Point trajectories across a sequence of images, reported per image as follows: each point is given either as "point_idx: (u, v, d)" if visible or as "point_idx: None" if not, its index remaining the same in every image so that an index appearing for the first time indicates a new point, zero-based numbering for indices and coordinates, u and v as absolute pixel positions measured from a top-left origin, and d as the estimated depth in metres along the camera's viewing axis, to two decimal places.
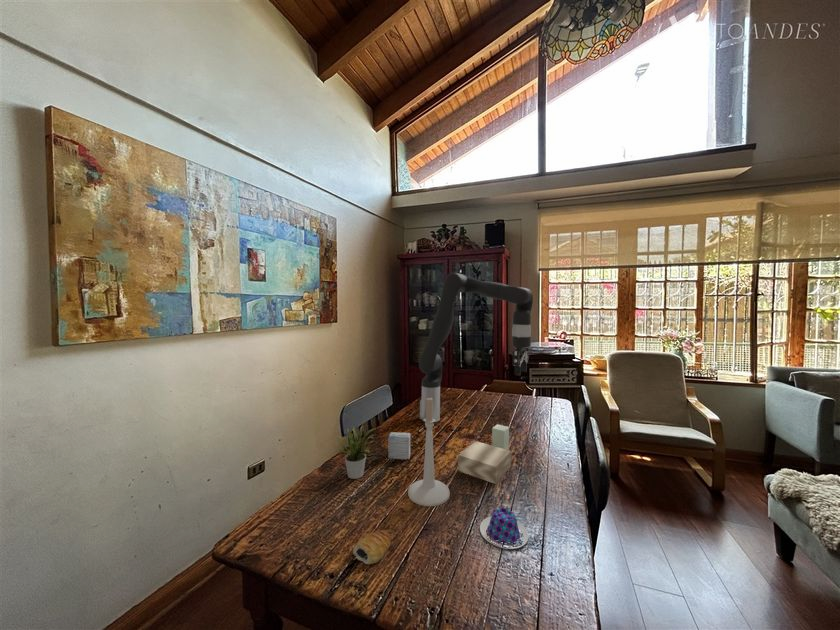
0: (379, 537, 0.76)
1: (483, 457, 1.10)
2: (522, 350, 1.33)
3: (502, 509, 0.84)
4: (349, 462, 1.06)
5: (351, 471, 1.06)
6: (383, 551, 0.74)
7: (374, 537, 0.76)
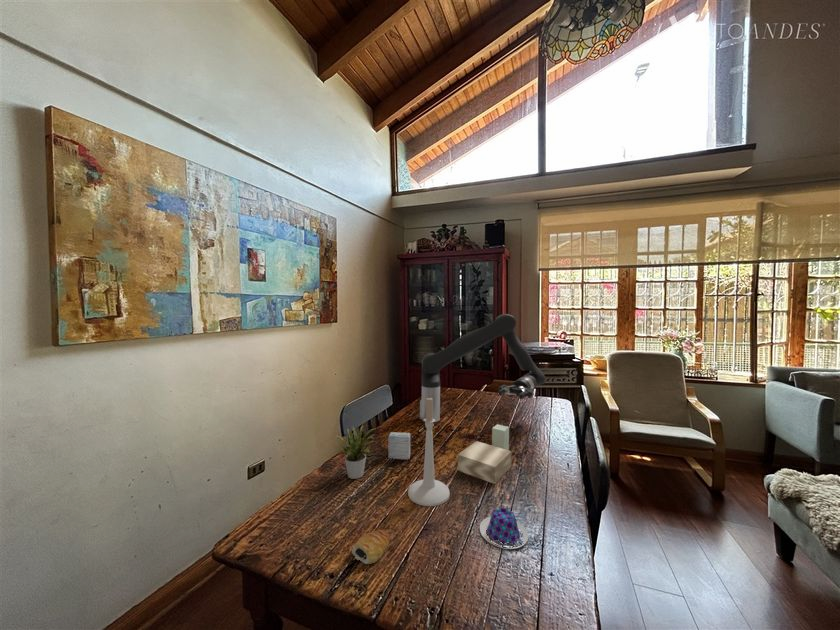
0: (378, 537, 0.76)
1: (482, 457, 1.10)
2: None
3: (502, 509, 0.84)
4: (349, 462, 1.06)
5: (351, 471, 1.06)
6: (382, 551, 0.74)
7: (373, 537, 0.76)
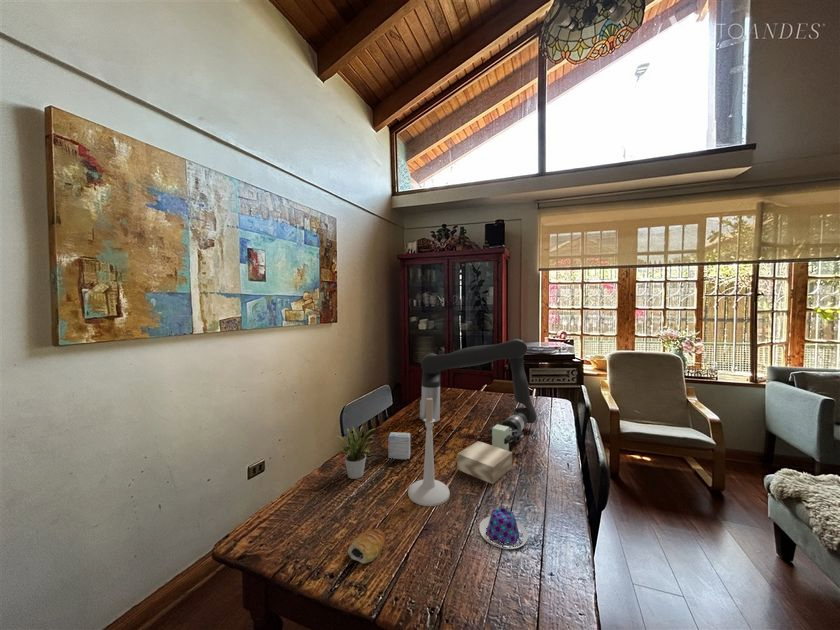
0: (373, 536, 0.76)
1: (481, 457, 1.10)
2: None
3: (502, 509, 0.84)
4: (349, 462, 1.06)
5: (351, 471, 1.06)
6: (378, 549, 0.74)
7: (368, 536, 0.76)
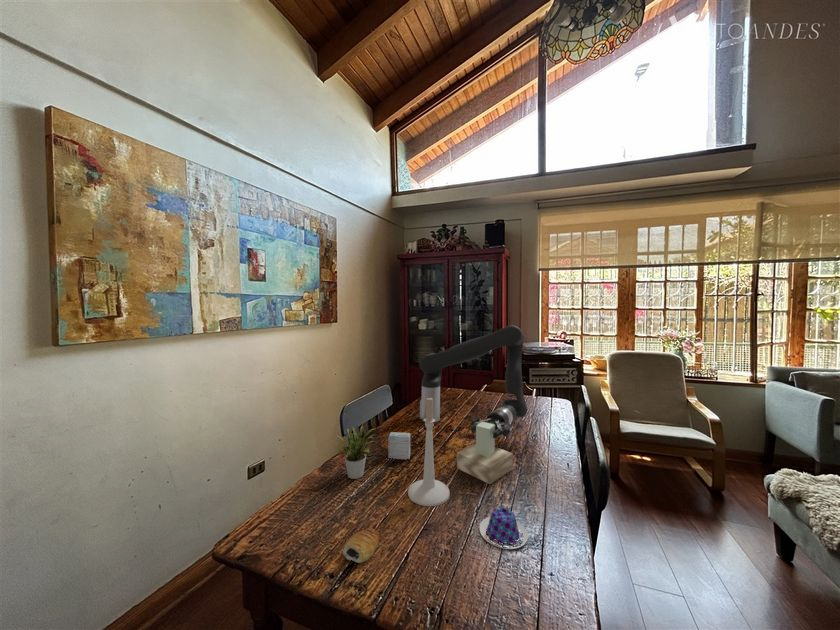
0: (368, 535, 0.77)
1: (480, 457, 1.10)
2: None
3: (503, 509, 0.84)
4: (349, 462, 1.06)
5: (351, 471, 1.06)
6: (373, 548, 0.75)
7: (363, 535, 0.76)
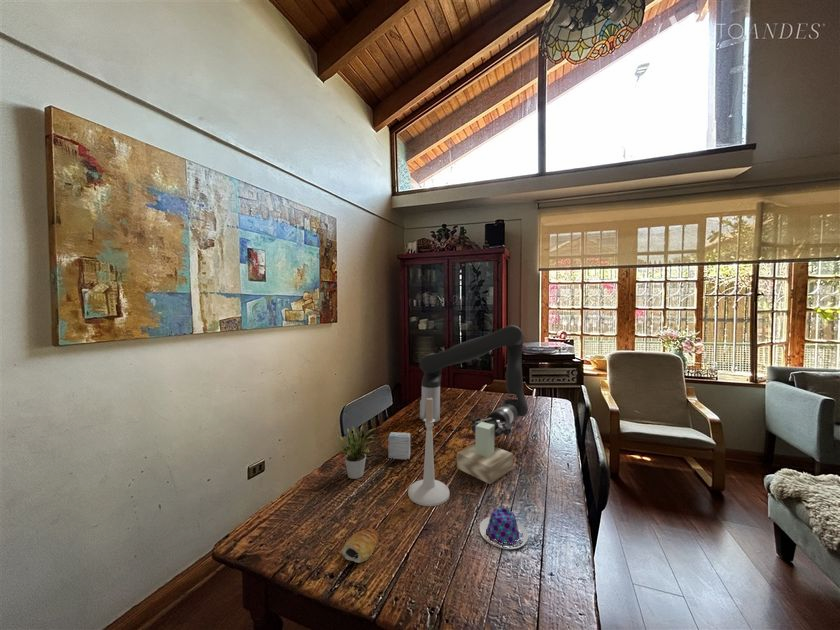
0: (367, 535, 0.77)
1: (480, 457, 1.10)
2: None
3: (503, 509, 0.84)
4: (349, 462, 1.06)
5: (351, 471, 1.06)
6: (373, 548, 0.75)
7: (362, 535, 0.76)
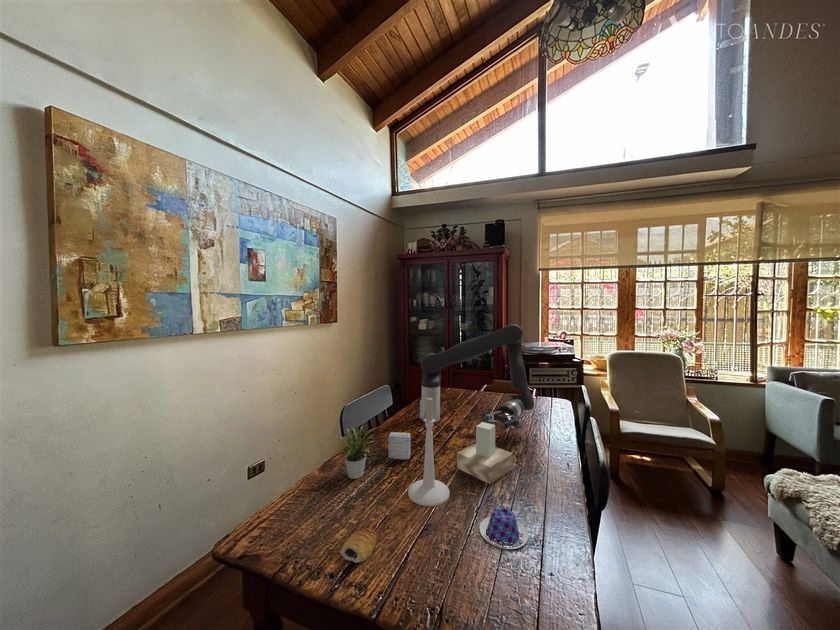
0: (366, 535, 0.77)
1: (480, 457, 1.10)
2: None
3: (503, 509, 0.84)
4: (349, 462, 1.06)
5: (351, 471, 1.06)
6: (371, 548, 0.75)
7: (361, 535, 0.76)
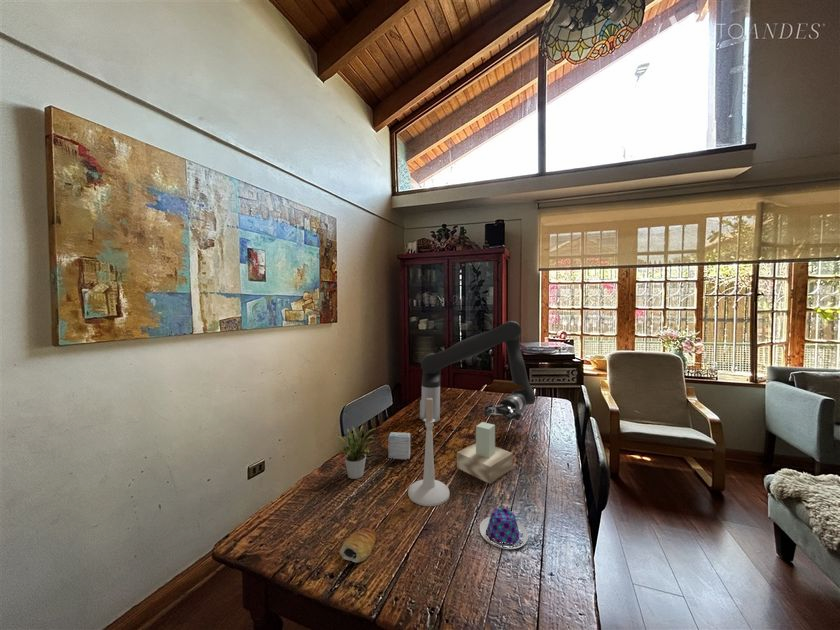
0: (365, 535, 0.77)
1: (480, 457, 1.10)
2: None
3: (504, 509, 0.84)
4: (349, 462, 1.06)
5: (351, 471, 1.06)
6: (371, 547, 0.75)
7: (360, 535, 0.76)
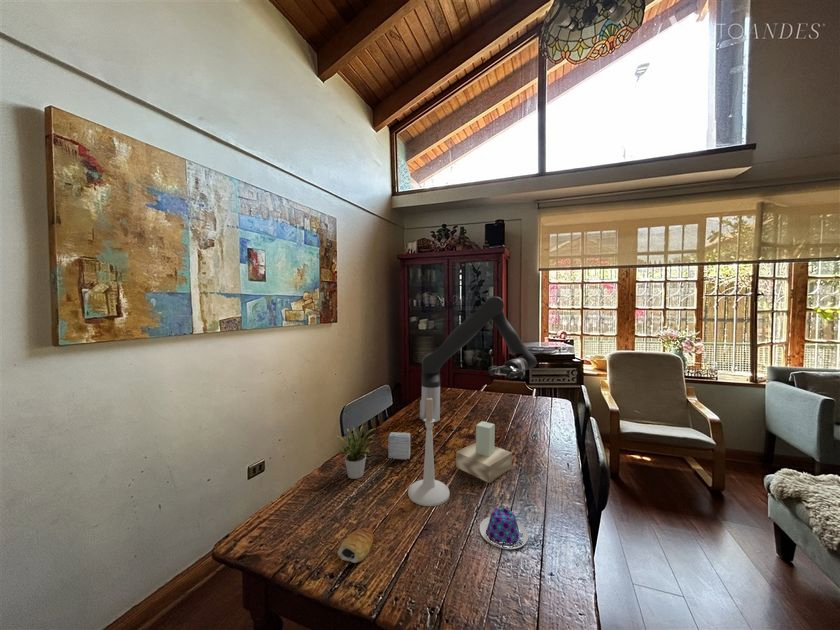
0: (363, 535, 0.77)
1: (479, 456, 1.11)
2: None
3: (504, 510, 0.84)
4: (349, 462, 1.06)
5: (351, 471, 1.06)
6: (369, 547, 0.75)
7: (358, 535, 0.76)
